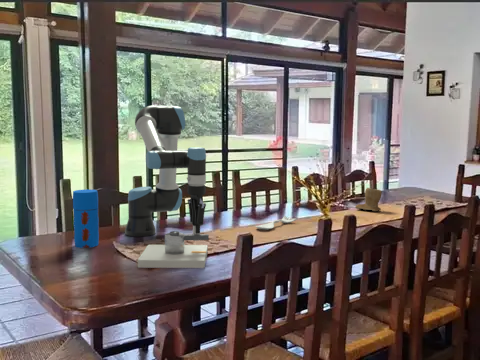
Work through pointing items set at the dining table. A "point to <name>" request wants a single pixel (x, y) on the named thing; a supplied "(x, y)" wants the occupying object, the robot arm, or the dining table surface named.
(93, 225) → the thermos
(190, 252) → the stand
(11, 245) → the dining table surface
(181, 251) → the capstan
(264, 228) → the spoon
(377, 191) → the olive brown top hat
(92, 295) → the dining table surface
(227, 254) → the dining table surface
